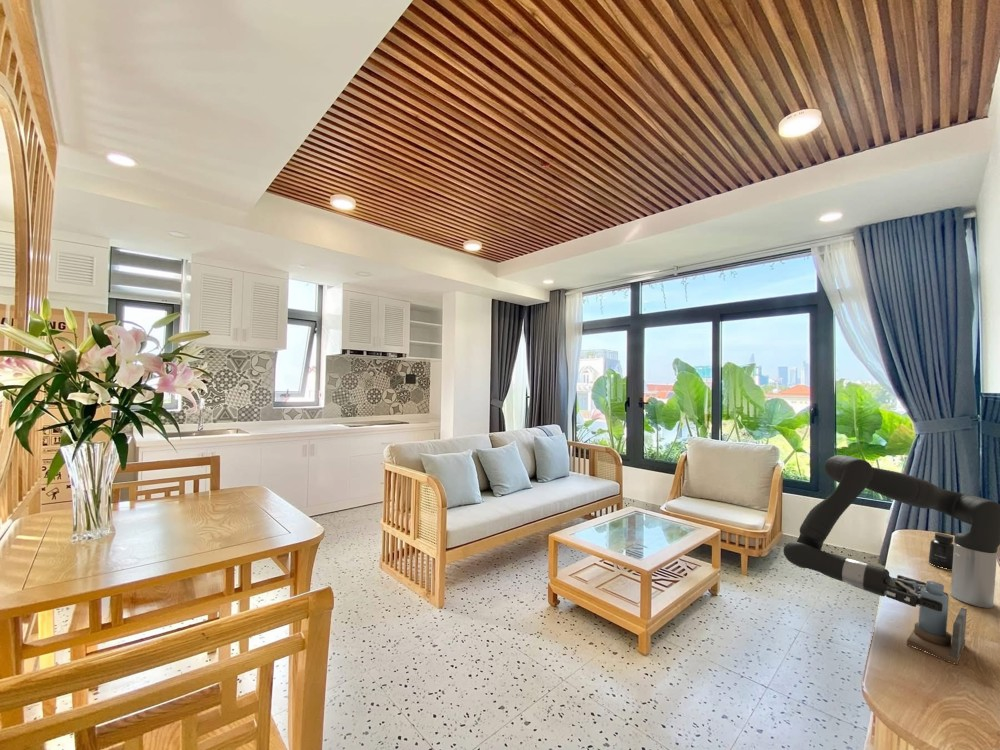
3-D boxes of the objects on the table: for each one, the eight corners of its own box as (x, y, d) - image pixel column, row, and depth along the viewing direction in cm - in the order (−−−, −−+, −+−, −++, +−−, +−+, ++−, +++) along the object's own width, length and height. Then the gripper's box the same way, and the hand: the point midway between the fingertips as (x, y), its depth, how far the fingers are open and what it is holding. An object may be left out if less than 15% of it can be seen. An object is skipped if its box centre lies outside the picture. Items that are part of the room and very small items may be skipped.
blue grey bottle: (920, 621, 117) (923, 577, 116) (947, 631, 112) (950, 585, 112) (916, 628, 113) (919, 582, 113) (944, 638, 109) (947, 590, 109)
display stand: (917, 627, 120) (920, 594, 120) (964, 644, 113) (967, 609, 113) (906, 645, 112) (909, 609, 111) (957, 665, 104) (959, 627, 104)
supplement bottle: (934, 568, 160) (937, 536, 160) (924, 560, 166) (926, 530, 166) (959, 572, 157) (961, 540, 157) (947, 564, 164) (950, 533, 164)
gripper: (859, 569, 120) (941, 596, 107) (872, 557, 128) (950, 581, 115) (857, 596, 120) (939, 626, 107) (870, 582, 128) (948, 608, 116)
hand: (945, 602), depth 111 cm, fingers open, 8 cm apart
